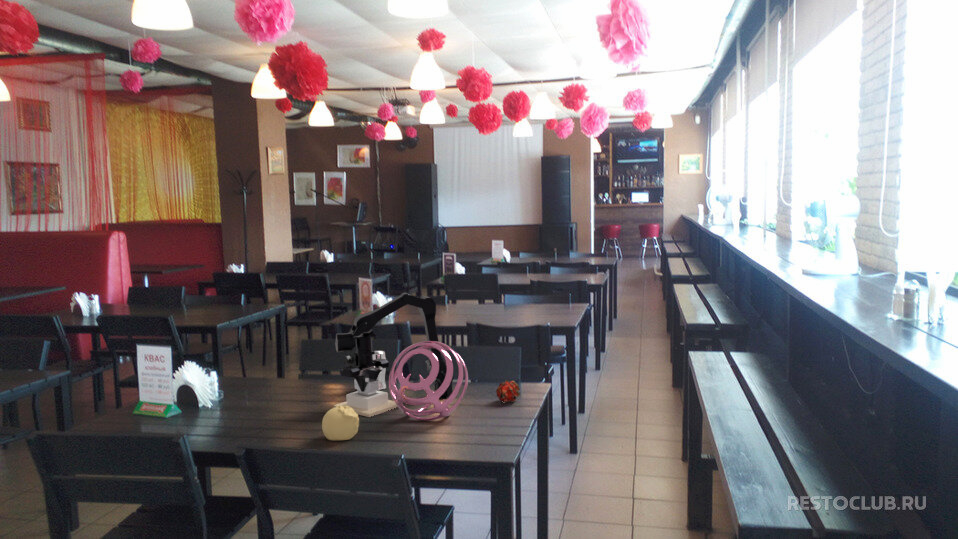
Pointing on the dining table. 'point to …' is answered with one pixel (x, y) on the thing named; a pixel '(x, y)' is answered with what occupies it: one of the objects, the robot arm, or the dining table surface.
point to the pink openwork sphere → (427, 382)
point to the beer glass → (382, 374)
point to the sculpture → (340, 423)
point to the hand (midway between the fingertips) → (367, 390)
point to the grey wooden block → (368, 387)
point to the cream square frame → (369, 403)
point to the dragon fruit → (508, 391)
